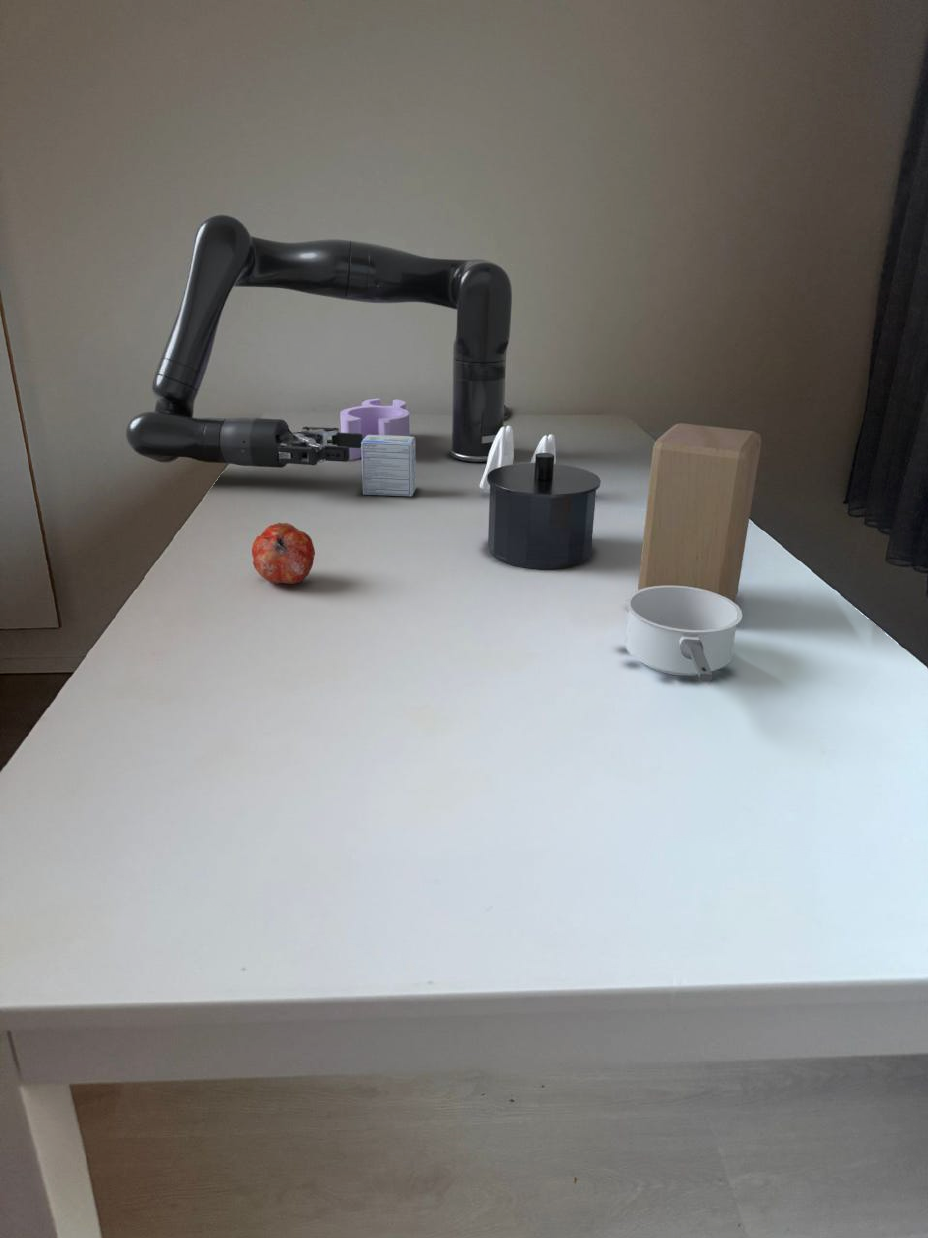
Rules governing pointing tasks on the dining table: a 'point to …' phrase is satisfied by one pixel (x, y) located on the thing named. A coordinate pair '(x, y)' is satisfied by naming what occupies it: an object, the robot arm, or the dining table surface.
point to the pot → (540, 529)
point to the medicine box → (388, 465)
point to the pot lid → (543, 479)
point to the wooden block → (699, 508)
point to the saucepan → (681, 630)
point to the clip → (375, 421)
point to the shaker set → (511, 453)
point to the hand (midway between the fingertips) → (356, 447)
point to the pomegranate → (283, 554)
